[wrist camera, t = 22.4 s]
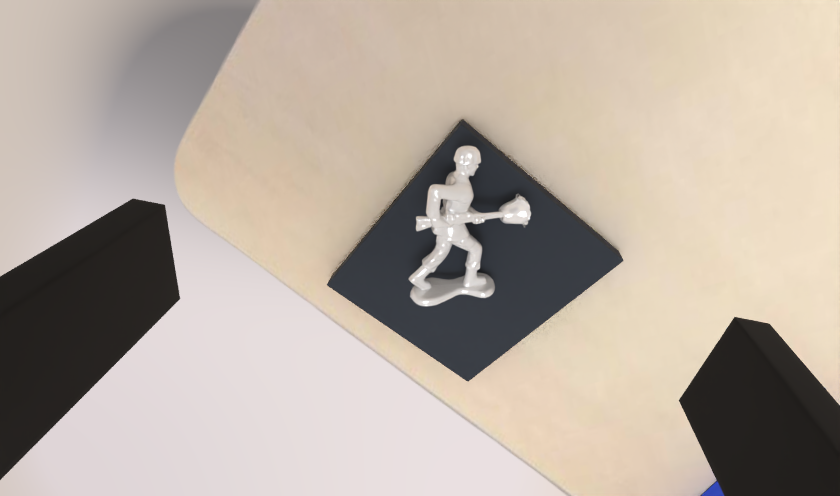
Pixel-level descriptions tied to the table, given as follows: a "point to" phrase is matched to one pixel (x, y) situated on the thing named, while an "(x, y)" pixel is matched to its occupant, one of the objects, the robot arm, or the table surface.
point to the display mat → (501, 259)
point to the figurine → (458, 233)
